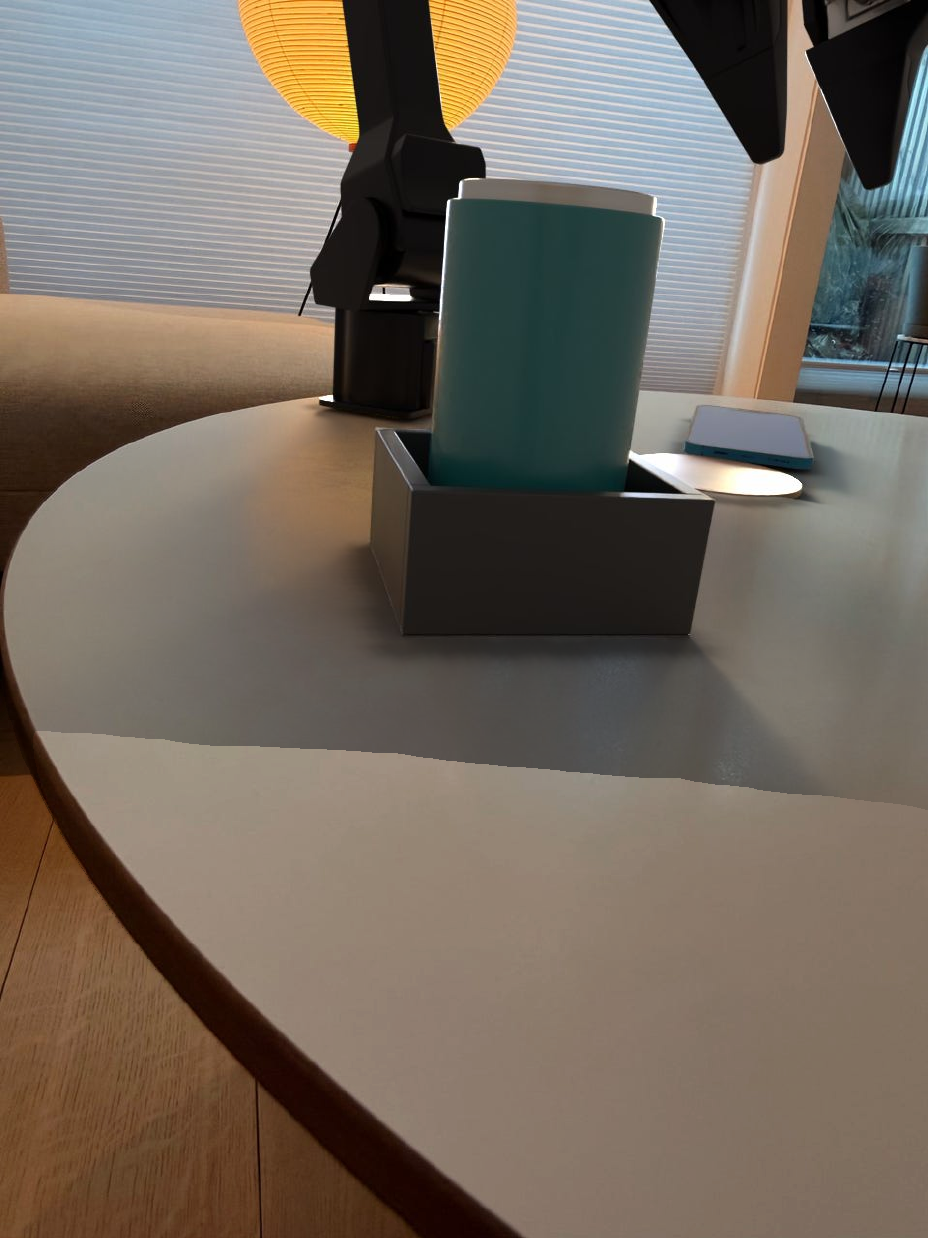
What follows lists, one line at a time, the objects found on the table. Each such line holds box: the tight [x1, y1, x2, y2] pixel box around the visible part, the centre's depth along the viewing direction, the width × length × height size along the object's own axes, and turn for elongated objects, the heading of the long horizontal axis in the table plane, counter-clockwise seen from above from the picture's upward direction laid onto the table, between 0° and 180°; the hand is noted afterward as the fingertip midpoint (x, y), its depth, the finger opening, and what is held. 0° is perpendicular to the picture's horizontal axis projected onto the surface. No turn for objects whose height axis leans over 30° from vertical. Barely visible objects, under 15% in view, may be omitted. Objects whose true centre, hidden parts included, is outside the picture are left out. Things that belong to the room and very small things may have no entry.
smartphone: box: [682, 404, 815, 470], centre depth 60 cm, size 7×1×15 cm
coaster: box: [640, 453, 803, 500], centre depth 49 cm, size 9×9×1 cm
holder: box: [369, 426, 716, 638], centre depth 29 cm, size 8×8×4 cm
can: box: [428, 177, 666, 492], centre depth 28 cm, size 6×6×12 cm
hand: (828, 174), depth 37 cm, fingers open, 9 cm apart
